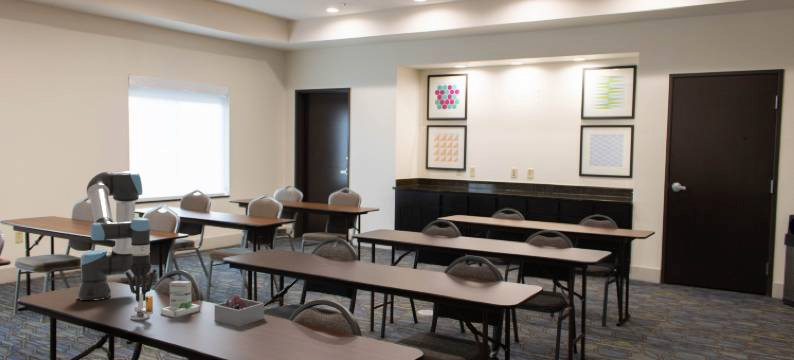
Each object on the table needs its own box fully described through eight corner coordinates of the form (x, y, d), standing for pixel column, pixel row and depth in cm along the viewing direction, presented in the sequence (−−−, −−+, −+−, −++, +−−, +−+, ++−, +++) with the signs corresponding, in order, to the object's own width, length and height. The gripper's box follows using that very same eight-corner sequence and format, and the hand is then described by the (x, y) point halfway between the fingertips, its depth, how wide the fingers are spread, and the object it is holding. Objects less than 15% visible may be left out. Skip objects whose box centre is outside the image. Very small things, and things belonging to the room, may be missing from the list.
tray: (160, 314, 280) (160, 308, 280) (186, 307, 292) (186, 302, 292) (174, 317, 275) (174, 312, 275) (200, 310, 287) (200, 305, 286)
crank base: (126, 318, 273) (126, 311, 272) (142, 314, 279) (142, 307, 279) (137, 321, 268) (137, 314, 268) (153, 317, 275) (153, 310, 275)
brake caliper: (235, 319, 266) (224, 295, 269) (222, 330, 271) (212, 306, 275) (255, 314, 275) (245, 290, 279) (242, 325, 280) (232, 301, 284)
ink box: (192, 306, 285) (192, 280, 285) (187, 308, 280) (187, 283, 280) (174, 305, 286) (174, 280, 285) (169, 308, 281) (169, 282, 281)
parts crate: (214, 320, 272) (214, 305, 271) (240, 312, 284) (240, 298, 284) (238, 326, 264) (238, 310, 263) (263, 318, 276) (263, 303, 276)
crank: (132, 310, 273) (132, 293, 273) (143, 308, 277) (143, 291, 277) (145, 315, 266) (145, 298, 265) (156, 313, 269) (156, 296, 269)
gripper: (126, 256, 258) (126, 312, 259) (158, 254, 266) (158, 308, 267) (122, 254, 264) (122, 308, 265) (153, 251, 272) (153, 304, 273)
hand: (140, 308), depth 266 cm, fingers closed
